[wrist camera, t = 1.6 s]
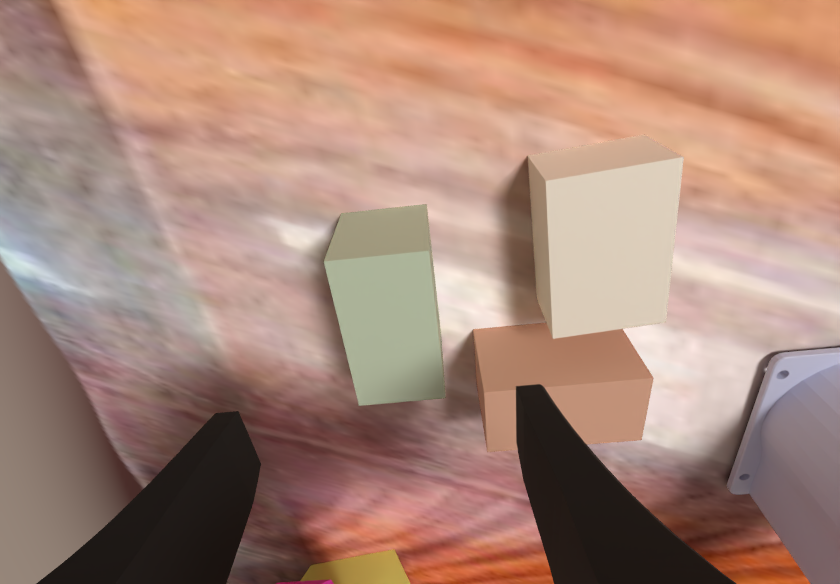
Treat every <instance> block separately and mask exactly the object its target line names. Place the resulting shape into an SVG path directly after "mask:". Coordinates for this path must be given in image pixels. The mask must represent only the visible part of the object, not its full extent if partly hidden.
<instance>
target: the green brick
mask: <svg viewBox="0 0 840 584" xmlns="http://www.w3.org/2000/svg"><path fill="white" fill-rule="evenodd" d="M324 265H325V269H326V273H327V277H328V281H329V285H330V290H331V294H332V298H333V302H334V306H335V310H336V314H337V318H338V322H339V326H340V330H341V334H342V338H343V342H344V347H345V351H346V355H347V359H348V363H349V367H350V371H351V375H352V379H353V383H354V387H355V391H356V395H357V400H358V404H359V406H361V405H373V404H384V403H396V402H408V401H419V400H431V399H442V398H446V395H445V381H444V367H443V354H442V340H441V329H440V320H439V311H438V302H437V293H436V284H435V275H434V266H433V257H432V248H431V239H430V230H429V221H428V212H427V204H423V205H414V206H405V207H395V208H386V209H377V210H368V211H359V212H350V213H341V216H340V218H339V221H338V224H337V227H336V229H335V232H334V235H333V237H332V240H331V243H330V246H329V248H328V251H327V254H326V257H325V259H324Z"/></svg>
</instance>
